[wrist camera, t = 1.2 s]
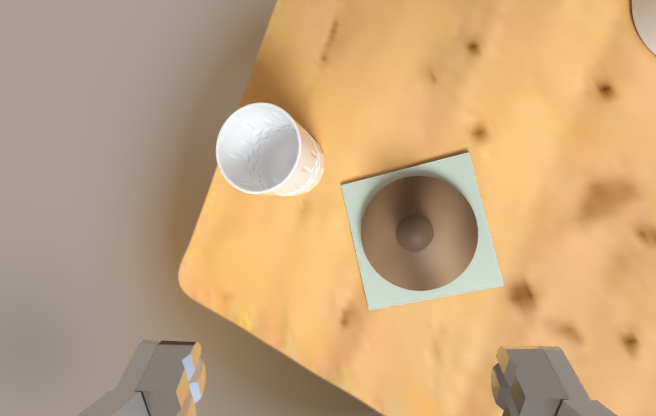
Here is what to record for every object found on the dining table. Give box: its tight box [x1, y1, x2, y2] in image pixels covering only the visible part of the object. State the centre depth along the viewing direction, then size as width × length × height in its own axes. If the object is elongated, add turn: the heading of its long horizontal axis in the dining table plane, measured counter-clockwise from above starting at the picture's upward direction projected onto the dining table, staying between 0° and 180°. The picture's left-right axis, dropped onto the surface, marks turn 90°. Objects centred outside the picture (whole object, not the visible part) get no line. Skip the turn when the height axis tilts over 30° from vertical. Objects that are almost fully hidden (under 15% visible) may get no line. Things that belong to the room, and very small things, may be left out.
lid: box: [361, 176, 478, 291], centre depth 39 cm, size 11×11×7 cm
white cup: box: [216, 102, 324, 196], centre depth 41 cm, size 8×8×10 cm
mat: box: [341, 152, 504, 310], centre depth 42 cm, size 13×13×1 cm
